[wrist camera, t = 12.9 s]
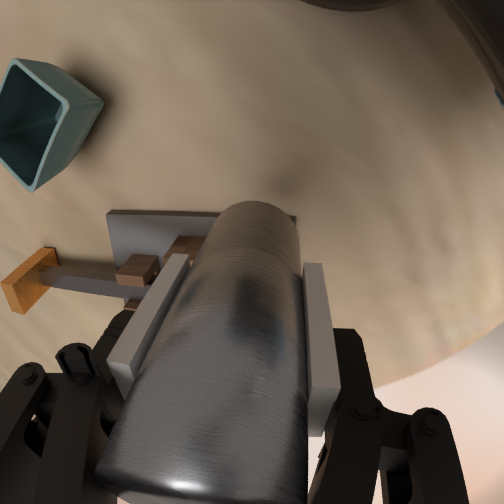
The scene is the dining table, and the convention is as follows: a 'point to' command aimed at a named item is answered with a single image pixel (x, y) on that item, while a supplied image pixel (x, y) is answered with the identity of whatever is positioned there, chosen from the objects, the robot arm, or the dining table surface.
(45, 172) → the flower pot
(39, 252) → the lock pin
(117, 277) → the dock
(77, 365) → the robot arm
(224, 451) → the grey metal cylinder
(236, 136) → the dining table surface
